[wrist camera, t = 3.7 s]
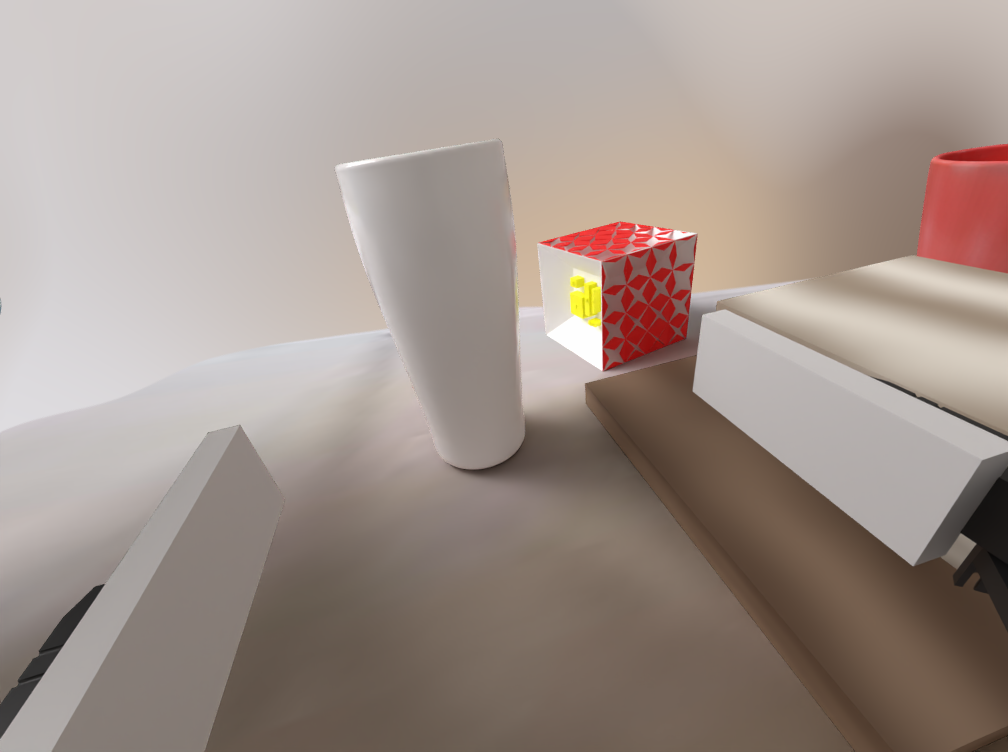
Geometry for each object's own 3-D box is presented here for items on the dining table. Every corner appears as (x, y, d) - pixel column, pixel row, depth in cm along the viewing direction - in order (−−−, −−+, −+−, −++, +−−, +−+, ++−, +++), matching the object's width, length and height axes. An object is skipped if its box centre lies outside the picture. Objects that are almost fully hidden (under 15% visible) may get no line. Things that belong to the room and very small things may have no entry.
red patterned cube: (545, 335, 35) (537, 242, 30) (618, 310, 37) (619, 221, 33) (603, 372, 28) (602, 261, 24) (686, 339, 30) (698, 233, 26)
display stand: (885, 790, 10) (1027, 666, 6) (585, 403, 25) (582, 307, 22) (1491, 515, 13) (1792, 338, 10) (899, 321, 28) (937, 226, 25)
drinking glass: (475, 397, 27) (424, 150, 20) (561, 426, 23) (537, 132, 16) (400, 457, 23) (297, 170, 15) (490, 504, 19) (410, 152, 11)
